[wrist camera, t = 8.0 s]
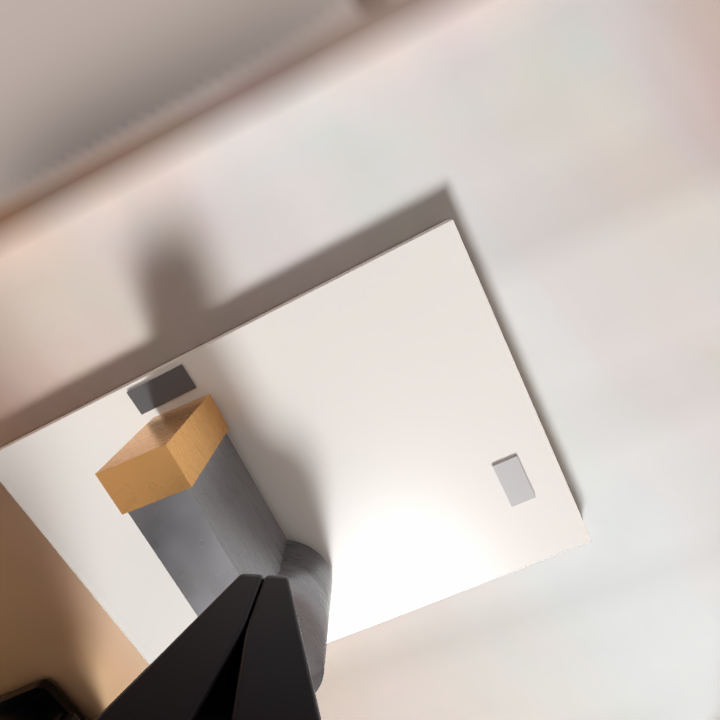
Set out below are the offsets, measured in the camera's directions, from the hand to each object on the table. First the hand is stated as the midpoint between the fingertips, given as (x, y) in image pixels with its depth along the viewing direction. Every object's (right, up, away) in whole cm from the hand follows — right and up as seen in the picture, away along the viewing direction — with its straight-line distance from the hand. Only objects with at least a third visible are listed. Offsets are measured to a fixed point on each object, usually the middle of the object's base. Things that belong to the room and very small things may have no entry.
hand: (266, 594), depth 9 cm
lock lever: (-3, -2, +11) cm, 11 cm away
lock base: (-1, -1, +12) cm, 12 cm away
